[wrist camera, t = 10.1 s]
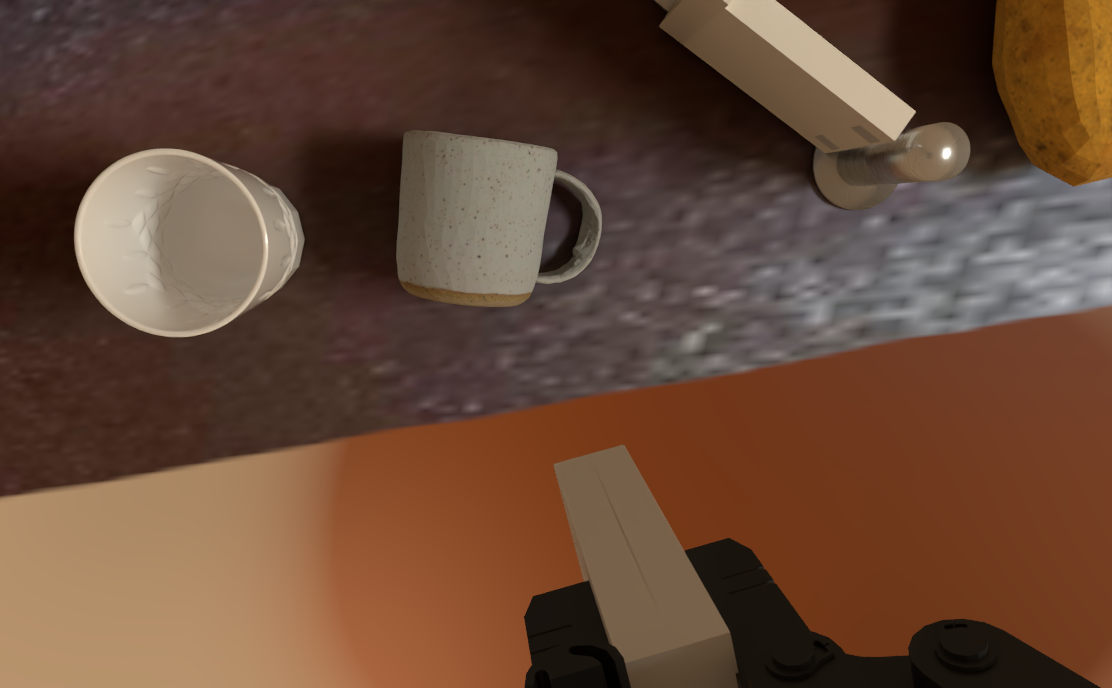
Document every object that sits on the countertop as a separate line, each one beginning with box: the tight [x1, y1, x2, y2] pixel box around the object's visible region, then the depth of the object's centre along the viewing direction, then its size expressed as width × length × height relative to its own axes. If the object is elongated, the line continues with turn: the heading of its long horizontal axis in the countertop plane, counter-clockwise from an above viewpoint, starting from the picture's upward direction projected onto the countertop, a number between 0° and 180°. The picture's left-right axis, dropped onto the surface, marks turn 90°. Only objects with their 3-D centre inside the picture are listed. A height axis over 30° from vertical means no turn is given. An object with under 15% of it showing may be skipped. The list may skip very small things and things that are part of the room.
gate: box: [659, 0, 916, 153], centre depth 41 cm, size 12×2×9 cm, turn 55°
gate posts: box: [653, 0, 970, 210], centre depth 40 cm, size 18×5×12 cm, turn 45°
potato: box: [992, 0, 1112, 186], centre depth 43 cm, size 8×14×7 cm, turn 8°
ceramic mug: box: [396, 130, 602, 307], centre depth 42 cm, size 11×8×8 cm
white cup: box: [74, 149, 305, 337], centre depth 40 cm, size 8×8×10 cm
